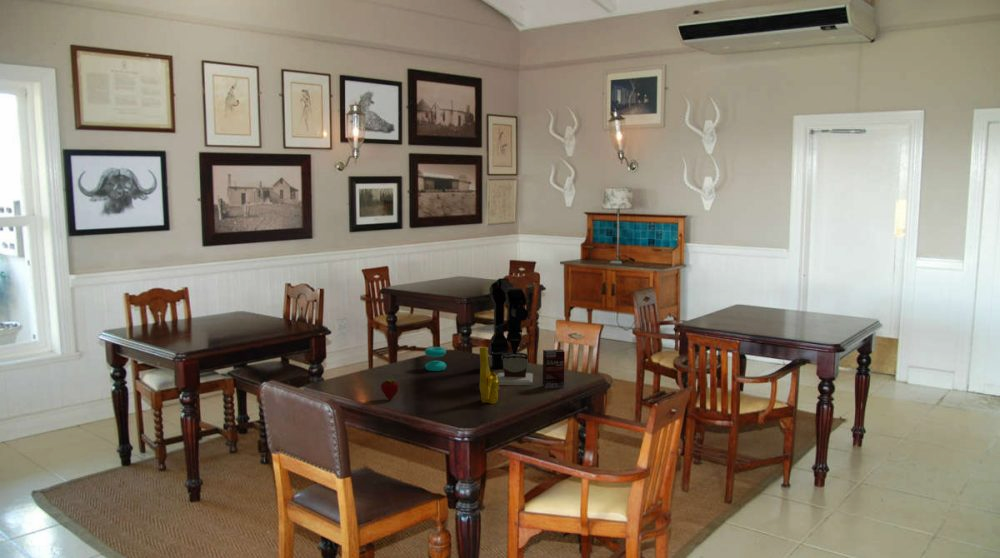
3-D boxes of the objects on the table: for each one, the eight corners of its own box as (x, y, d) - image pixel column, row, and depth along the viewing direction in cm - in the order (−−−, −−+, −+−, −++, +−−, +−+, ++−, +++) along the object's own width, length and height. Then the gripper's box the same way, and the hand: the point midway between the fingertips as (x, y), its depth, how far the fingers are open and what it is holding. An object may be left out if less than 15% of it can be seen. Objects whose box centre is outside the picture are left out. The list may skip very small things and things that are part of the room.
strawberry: (385, 397, 322) (384, 373, 321) (401, 398, 319) (401, 374, 318) (378, 400, 316) (377, 376, 315) (395, 402, 314) (394, 377, 313)
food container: (529, 374, 353) (529, 352, 352) (529, 377, 347) (529, 355, 346) (501, 373, 353) (501, 351, 352) (501, 377, 347) (501, 354, 346)
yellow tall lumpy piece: (492, 408, 305) (492, 352, 303) (473, 406, 307) (473, 351, 305) (503, 396, 322) (503, 343, 320) (485, 395, 324) (485, 342, 322)
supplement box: (545, 388, 335) (545, 352, 333) (542, 386, 340) (542, 349, 338) (564, 387, 337) (565, 351, 335) (561, 385, 341) (561, 348, 340)
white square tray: (497, 376, 357) (497, 372, 357) (533, 376, 356) (533, 372, 356) (495, 385, 341) (495, 380, 341) (532, 385, 341) (532, 380, 340)
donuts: (443, 350, 365) (422, 350, 366) (443, 372, 366) (422, 371, 368) (448, 346, 375) (427, 346, 376) (448, 367, 376) (427, 366, 377)
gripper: (497, 313, 355) (497, 348, 357) (495, 320, 337) (495, 356, 339) (522, 314, 355) (522, 348, 357) (521, 320, 336) (521, 356, 338)
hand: (514, 352), depth 347 cm, fingers open, 9 cm apart
